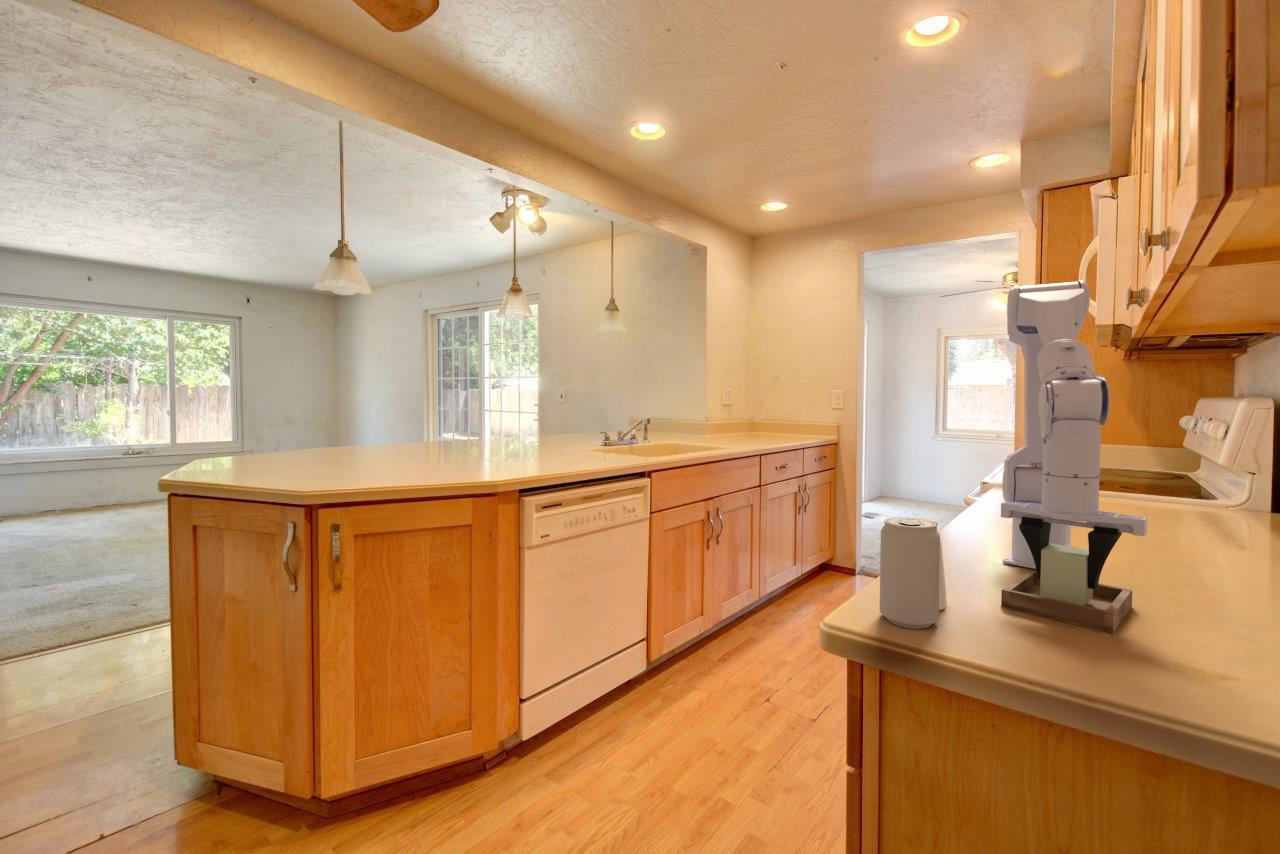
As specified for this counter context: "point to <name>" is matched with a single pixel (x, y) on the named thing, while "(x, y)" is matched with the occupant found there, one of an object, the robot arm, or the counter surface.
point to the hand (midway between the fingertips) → (1067, 581)
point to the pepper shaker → (940, 576)
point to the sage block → (1065, 574)
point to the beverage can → (909, 572)
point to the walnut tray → (1069, 604)
